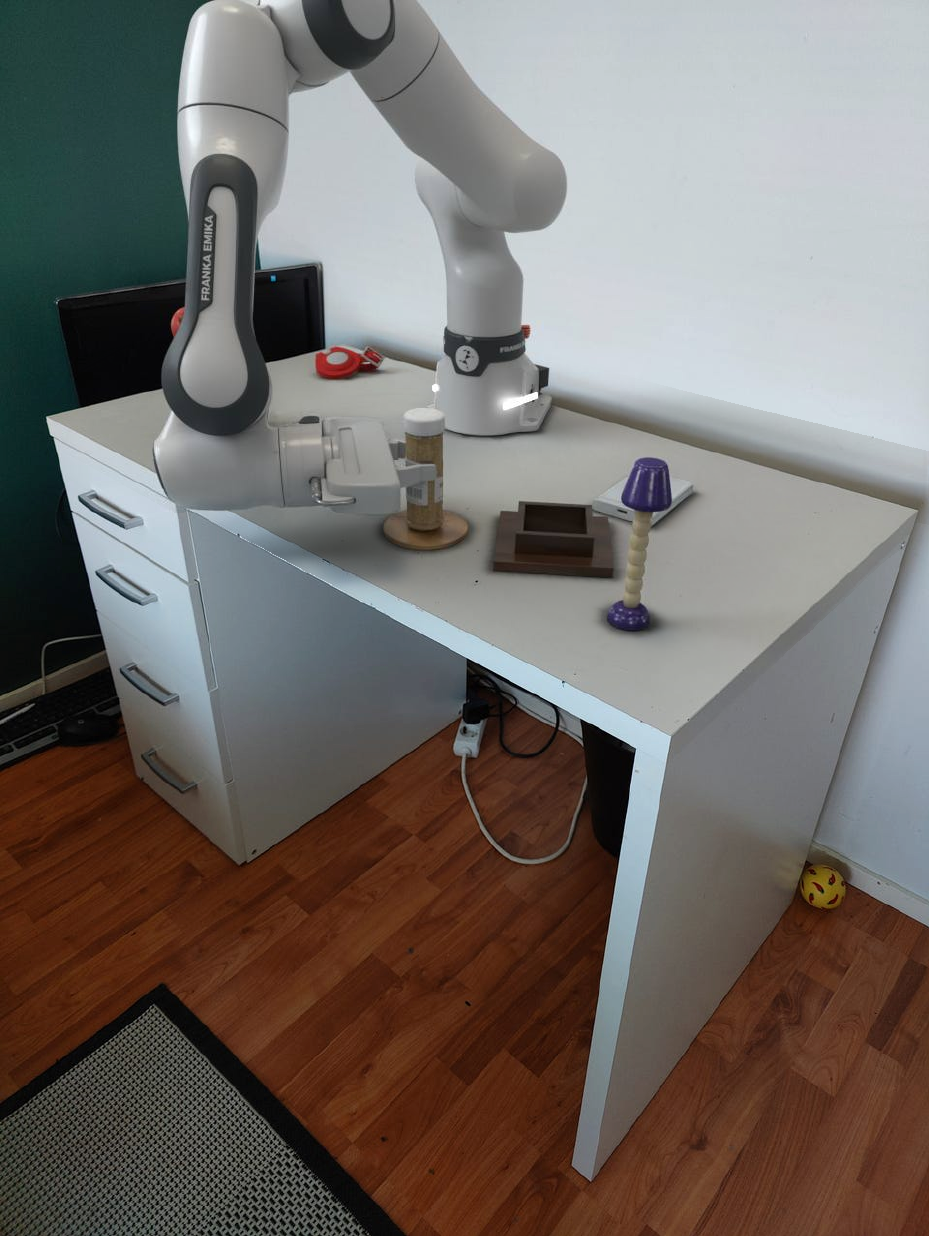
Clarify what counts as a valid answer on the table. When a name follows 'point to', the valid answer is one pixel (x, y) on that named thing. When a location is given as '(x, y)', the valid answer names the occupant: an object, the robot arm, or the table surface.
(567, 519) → the holder
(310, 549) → the table surface
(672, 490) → the hard drive
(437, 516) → the sprinkles bottle
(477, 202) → the robot arm
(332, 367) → the red tape dispenser
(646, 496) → the toy lamp
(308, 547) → the table surface
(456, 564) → the table surface
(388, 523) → the coaster
